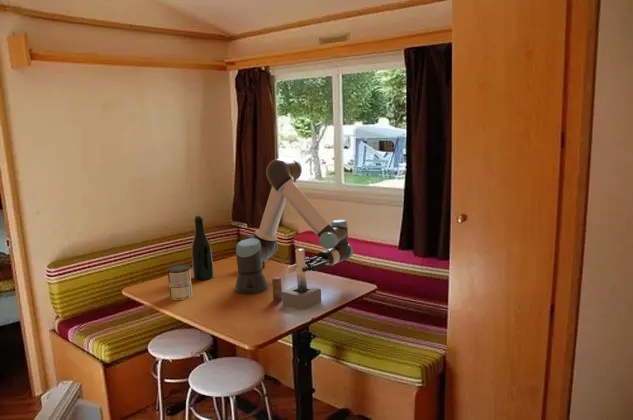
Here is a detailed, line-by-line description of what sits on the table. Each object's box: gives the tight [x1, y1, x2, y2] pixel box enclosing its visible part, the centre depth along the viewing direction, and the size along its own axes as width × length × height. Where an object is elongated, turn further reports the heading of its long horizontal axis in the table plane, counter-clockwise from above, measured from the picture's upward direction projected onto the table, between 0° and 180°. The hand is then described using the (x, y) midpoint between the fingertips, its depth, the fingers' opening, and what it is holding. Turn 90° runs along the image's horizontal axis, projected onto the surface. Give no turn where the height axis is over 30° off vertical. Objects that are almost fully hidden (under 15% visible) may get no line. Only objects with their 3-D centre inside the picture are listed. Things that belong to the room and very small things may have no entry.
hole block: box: [282, 284, 322, 311], centre depth 217 cm, size 12×12×6 cm
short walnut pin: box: [271, 276, 283, 303], centre depth 223 cm, size 4×4×10 cm
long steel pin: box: [294, 248, 308, 293], centre depth 215 cm, size 4×4×20 cm
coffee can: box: [166, 263, 194, 301], centre depth 233 cm, size 10×10×14 cm
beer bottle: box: [191, 215, 215, 281], centre depth 259 cm, size 10×10×33 cm
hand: (292, 270), depth 211 cm, fingers closed on long steel pin, 4 cm apart
